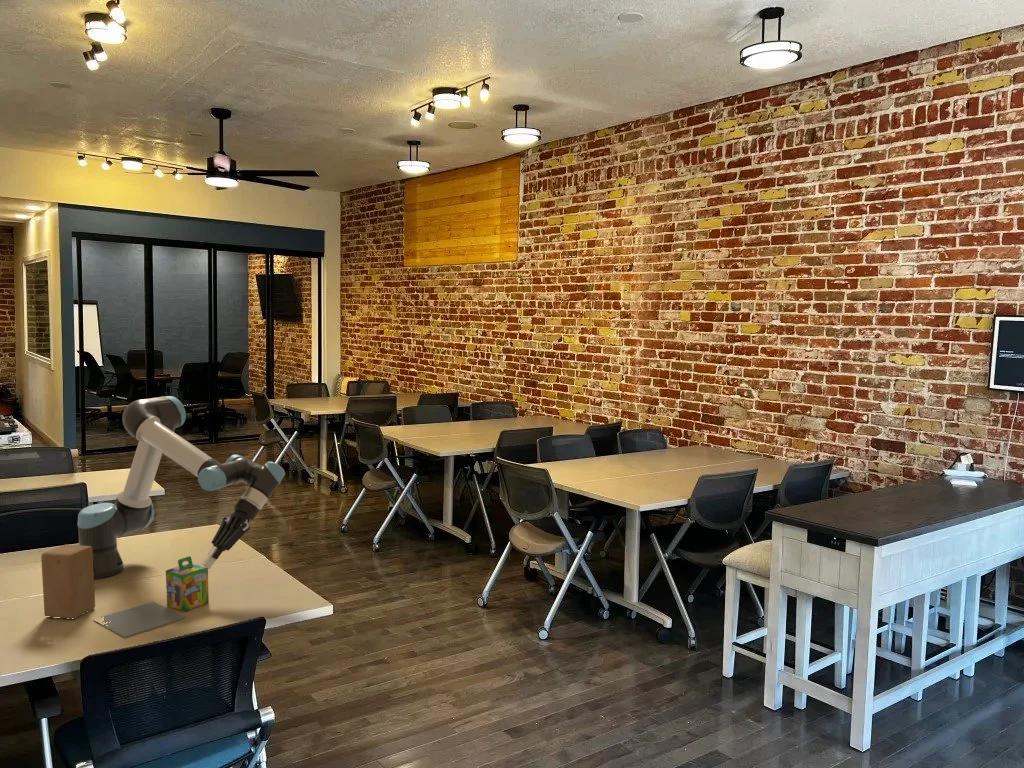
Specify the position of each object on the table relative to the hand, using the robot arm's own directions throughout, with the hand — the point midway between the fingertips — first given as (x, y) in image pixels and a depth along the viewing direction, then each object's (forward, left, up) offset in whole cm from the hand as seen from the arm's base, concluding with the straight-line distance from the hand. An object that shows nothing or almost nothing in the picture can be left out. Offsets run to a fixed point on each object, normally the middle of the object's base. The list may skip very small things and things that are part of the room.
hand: (205, 566), depth 242 cm
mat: (-1, -21, -11) cm, 23 cm away
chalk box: (-1, -6, -11) cm, 13 cm away
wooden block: (-22, -32, -11) cm, 40 cm away
